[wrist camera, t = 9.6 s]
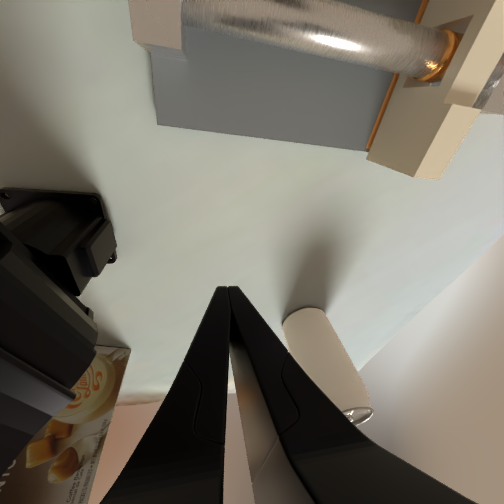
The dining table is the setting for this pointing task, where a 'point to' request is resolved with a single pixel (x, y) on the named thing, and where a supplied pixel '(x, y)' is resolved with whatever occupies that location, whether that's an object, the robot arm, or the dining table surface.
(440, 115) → the cream flat bar
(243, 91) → the rail board
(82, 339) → the robot arm
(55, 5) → the dining table surface
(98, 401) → the coffee box
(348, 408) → the can
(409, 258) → the dining table surface
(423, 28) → the steel pipe
